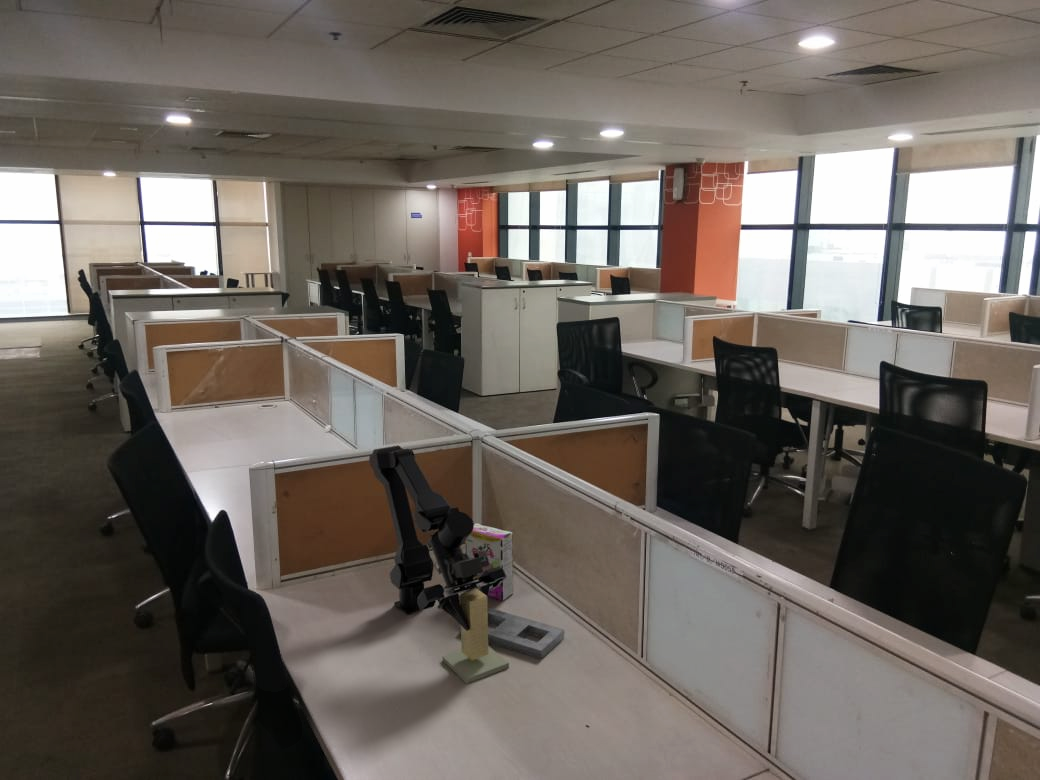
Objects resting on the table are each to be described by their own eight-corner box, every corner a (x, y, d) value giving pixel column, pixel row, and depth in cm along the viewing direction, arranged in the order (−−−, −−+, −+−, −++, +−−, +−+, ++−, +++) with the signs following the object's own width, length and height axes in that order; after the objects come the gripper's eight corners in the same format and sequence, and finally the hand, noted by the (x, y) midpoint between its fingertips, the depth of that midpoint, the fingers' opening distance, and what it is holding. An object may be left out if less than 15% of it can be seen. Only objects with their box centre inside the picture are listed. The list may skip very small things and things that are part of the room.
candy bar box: (465, 591, 191) (463, 528, 188) (477, 583, 195) (475, 522, 192) (503, 602, 185) (501, 538, 182) (514, 594, 190) (513, 531, 186)
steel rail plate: (459, 633, 171) (459, 625, 171) (484, 614, 180) (484, 606, 179) (541, 659, 161) (541, 650, 160) (564, 637, 169) (564, 629, 169)
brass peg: (461, 652, 159) (460, 593, 157) (478, 646, 162) (477, 588, 159) (471, 660, 156) (470, 601, 153) (488, 654, 158) (487, 596, 156)
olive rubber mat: (442, 660, 161) (442, 656, 160) (483, 646, 166) (483, 641, 166) (466, 683, 153) (466, 678, 152) (508, 667, 158) (508, 662, 158)
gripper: (421, 551, 152) (449, 626, 146) (501, 530, 162) (531, 599, 156) (405, 574, 160) (431, 645, 154) (482, 552, 170) (510, 619, 164)
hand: (477, 626), depth 156 cm, fingers closed on brass peg, 4 cm apart
